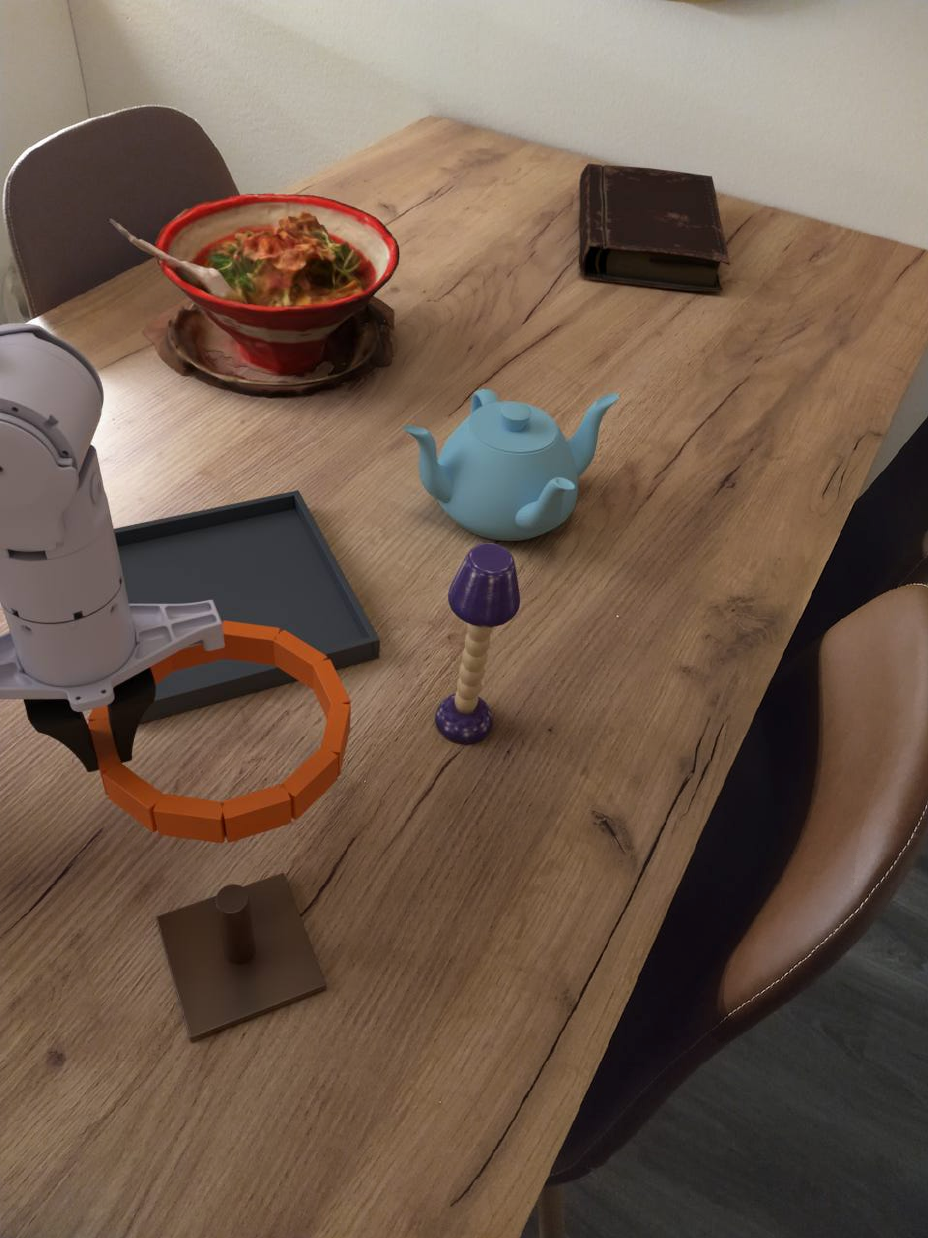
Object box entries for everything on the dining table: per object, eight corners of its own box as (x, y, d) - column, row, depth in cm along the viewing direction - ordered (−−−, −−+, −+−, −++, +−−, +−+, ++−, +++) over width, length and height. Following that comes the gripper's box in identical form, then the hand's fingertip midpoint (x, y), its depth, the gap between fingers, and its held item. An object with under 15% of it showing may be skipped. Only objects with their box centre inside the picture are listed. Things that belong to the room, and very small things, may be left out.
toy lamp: (509, 720, 75) (541, 551, 64) (476, 761, 72) (502, 592, 61) (455, 690, 77) (476, 520, 65) (420, 730, 74) (435, 558, 62)
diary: (576, 280, 125) (583, 240, 122) (576, 196, 143) (582, 159, 139) (727, 298, 125) (738, 259, 122) (708, 212, 143) (718, 175, 139)
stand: (190, 1043, 57) (177, 990, 52) (156, 921, 62) (141, 863, 57) (326, 989, 60) (325, 935, 55) (284, 877, 65) (279, 818, 60)
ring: (126, 875, 55) (120, 851, 53) (76, 681, 64) (70, 655, 63) (382, 794, 60) (384, 770, 59) (302, 625, 69) (302, 600, 68)
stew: (130, 424, 97) (102, 263, 86) (134, 298, 113) (111, 149, 102) (421, 410, 103) (430, 258, 91) (384, 293, 119) (389, 151, 107)
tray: (125, 728, 72) (120, 710, 70) (74, 556, 84) (69, 537, 82) (379, 657, 79) (380, 639, 77) (299, 507, 90) (298, 489, 89)
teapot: (464, 439, 100) (473, 345, 93) (609, 487, 96) (630, 393, 89) (396, 523, 90) (400, 426, 83) (555, 580, 86) (574, 483, 79)
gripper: (-98, 680, 44) (-20, 850, 54) (232, 601, 49) (249, 769, 59) (-109, 575, 49) (-36, 749, 58) (195, 512, 54) (216, 682, 63)
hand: (106, 753), depth 59 cm, fingers closed on ring, 1 cm apart
